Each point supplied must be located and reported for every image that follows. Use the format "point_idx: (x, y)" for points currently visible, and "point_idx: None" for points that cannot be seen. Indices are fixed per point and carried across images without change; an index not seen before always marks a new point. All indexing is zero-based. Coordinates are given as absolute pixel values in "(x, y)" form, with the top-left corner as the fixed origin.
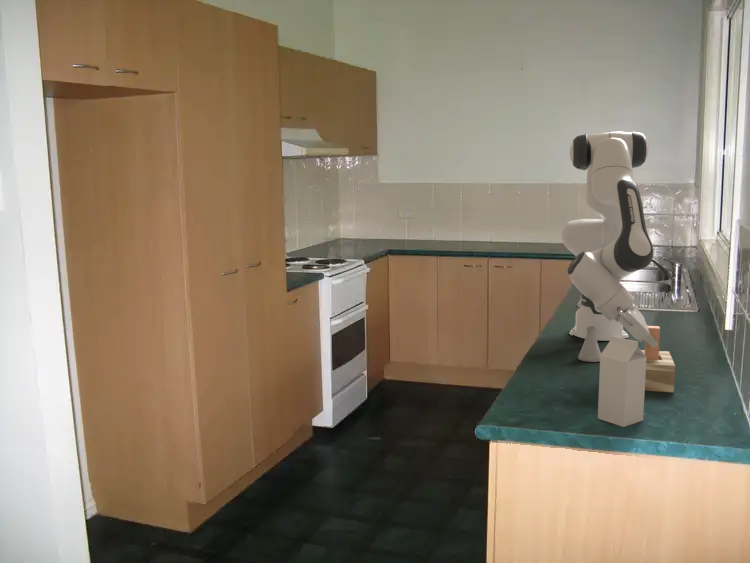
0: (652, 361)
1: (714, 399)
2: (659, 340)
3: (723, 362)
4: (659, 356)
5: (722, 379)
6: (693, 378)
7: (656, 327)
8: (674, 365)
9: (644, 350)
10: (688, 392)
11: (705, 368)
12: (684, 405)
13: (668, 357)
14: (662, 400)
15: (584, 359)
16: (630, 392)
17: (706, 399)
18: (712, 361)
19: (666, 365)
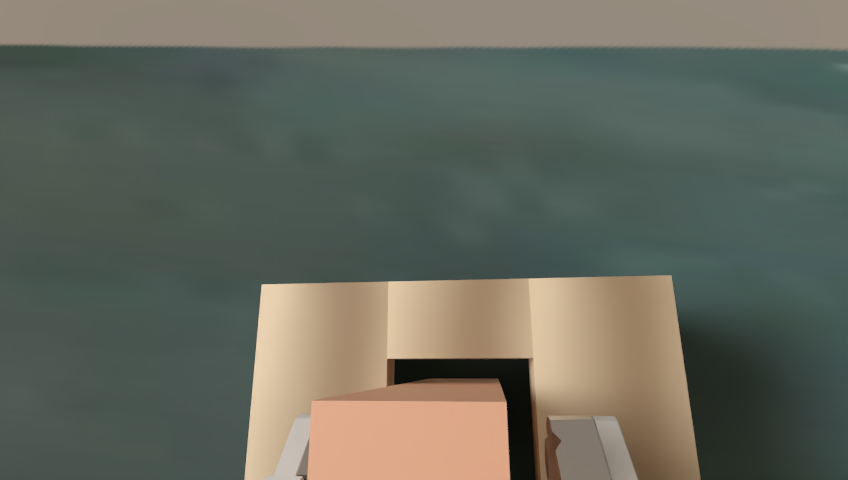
0: None
1: (660, 127)
2: (502, 391)
3: (54, 45)
4: (389, 365)
5: (322, 69)
6: (329, 186)
7: (432, 453)
8: (667, 280)
9: (253, 475)
10: (583, 230)
11: (153, 121)
12: (830, 270)
13: (435, 303)
14: (789, 377)
15: None
16: None
17: (675, 160)
18: (39, 84)
19: (678, 339)
